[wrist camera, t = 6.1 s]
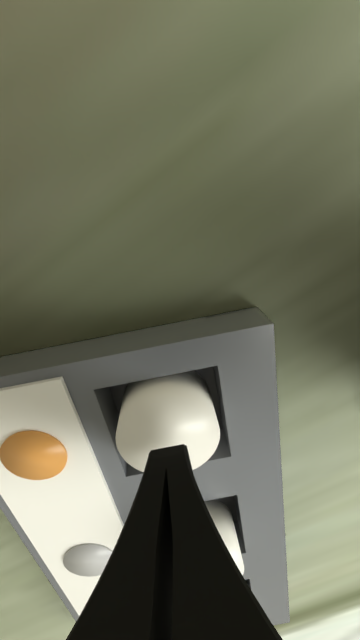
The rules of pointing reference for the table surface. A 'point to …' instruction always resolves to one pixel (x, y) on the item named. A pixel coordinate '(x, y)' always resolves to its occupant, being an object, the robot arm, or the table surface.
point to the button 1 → (167, 418)
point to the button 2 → (226, 529)
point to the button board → (114, 472)
